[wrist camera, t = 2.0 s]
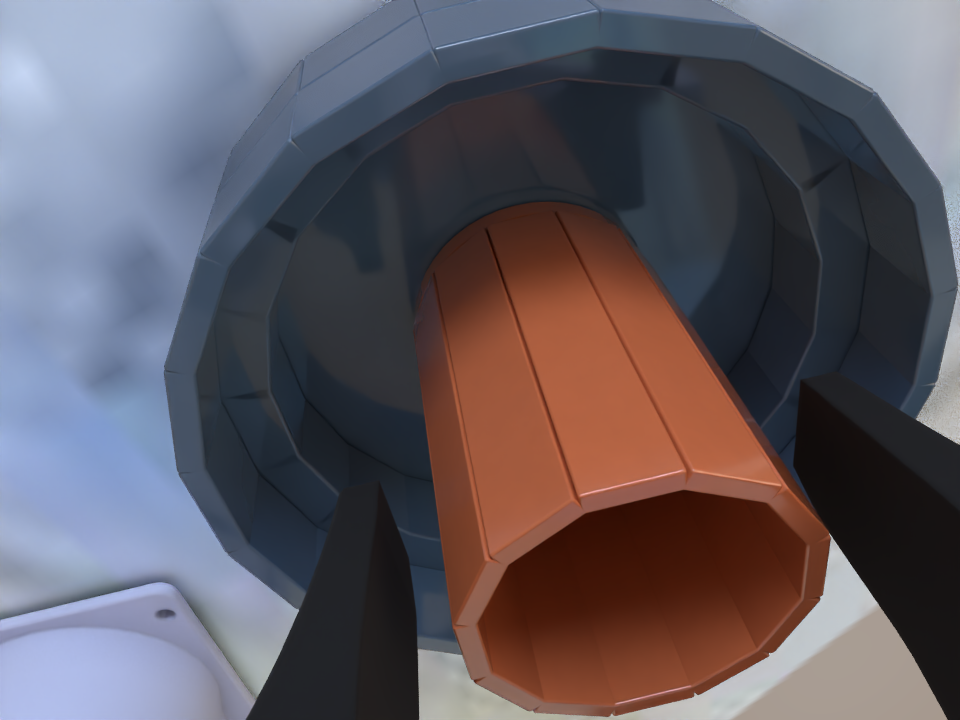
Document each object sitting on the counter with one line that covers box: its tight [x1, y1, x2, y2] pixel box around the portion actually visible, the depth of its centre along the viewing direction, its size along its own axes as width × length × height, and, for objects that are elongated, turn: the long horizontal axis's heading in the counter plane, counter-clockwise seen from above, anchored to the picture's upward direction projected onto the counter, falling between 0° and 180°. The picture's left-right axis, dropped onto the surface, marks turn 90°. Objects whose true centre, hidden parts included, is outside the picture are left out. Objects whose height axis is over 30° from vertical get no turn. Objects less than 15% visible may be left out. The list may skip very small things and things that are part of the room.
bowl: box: [164, 0, 958, 655], centre depth 16 cm, size 14×14×4 cm
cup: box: [413, 202, 831, 717], centre depth 14 cm, size 5×5×8 cm
